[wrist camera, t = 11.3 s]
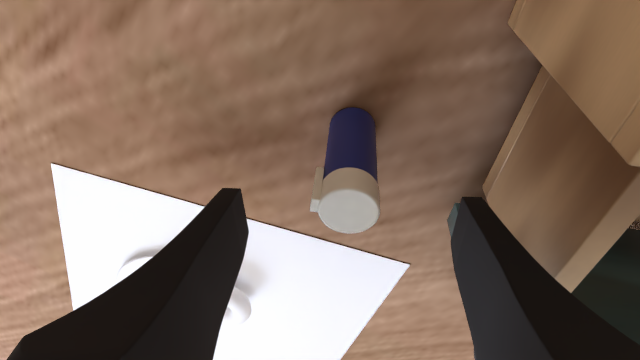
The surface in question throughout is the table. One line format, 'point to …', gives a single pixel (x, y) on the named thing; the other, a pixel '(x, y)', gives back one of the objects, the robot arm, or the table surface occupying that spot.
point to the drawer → (570, 203)
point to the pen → (348, 174)
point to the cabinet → (590, 60)
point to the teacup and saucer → (253, 279)
